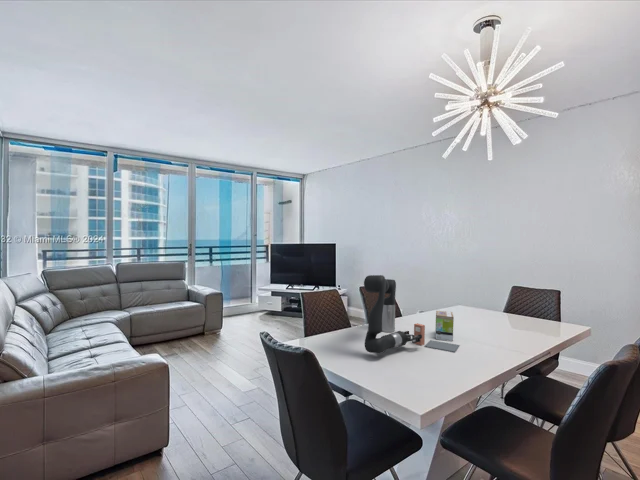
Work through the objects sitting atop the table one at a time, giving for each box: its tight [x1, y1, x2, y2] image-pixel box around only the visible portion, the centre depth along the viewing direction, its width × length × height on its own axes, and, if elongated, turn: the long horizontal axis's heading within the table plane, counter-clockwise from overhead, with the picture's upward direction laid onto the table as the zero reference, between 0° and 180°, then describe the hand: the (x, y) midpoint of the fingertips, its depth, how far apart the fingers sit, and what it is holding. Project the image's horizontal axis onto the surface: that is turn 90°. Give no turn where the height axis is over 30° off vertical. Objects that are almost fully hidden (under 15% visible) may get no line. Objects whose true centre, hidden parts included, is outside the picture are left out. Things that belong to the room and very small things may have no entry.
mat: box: [423, 339, 460, 353], centre depth 188 cm, size 16×13×1 cm
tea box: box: [435, 310, 455, 342], centre depth 206 cm, size 15×10×15 cm, turn 161°
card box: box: [413, 323, 426, 346], centre depth 192 cm, size 3×5×11 cm, turn 38°
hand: (414, 334), depth 190 cm, fingers open, 8 cm apart
